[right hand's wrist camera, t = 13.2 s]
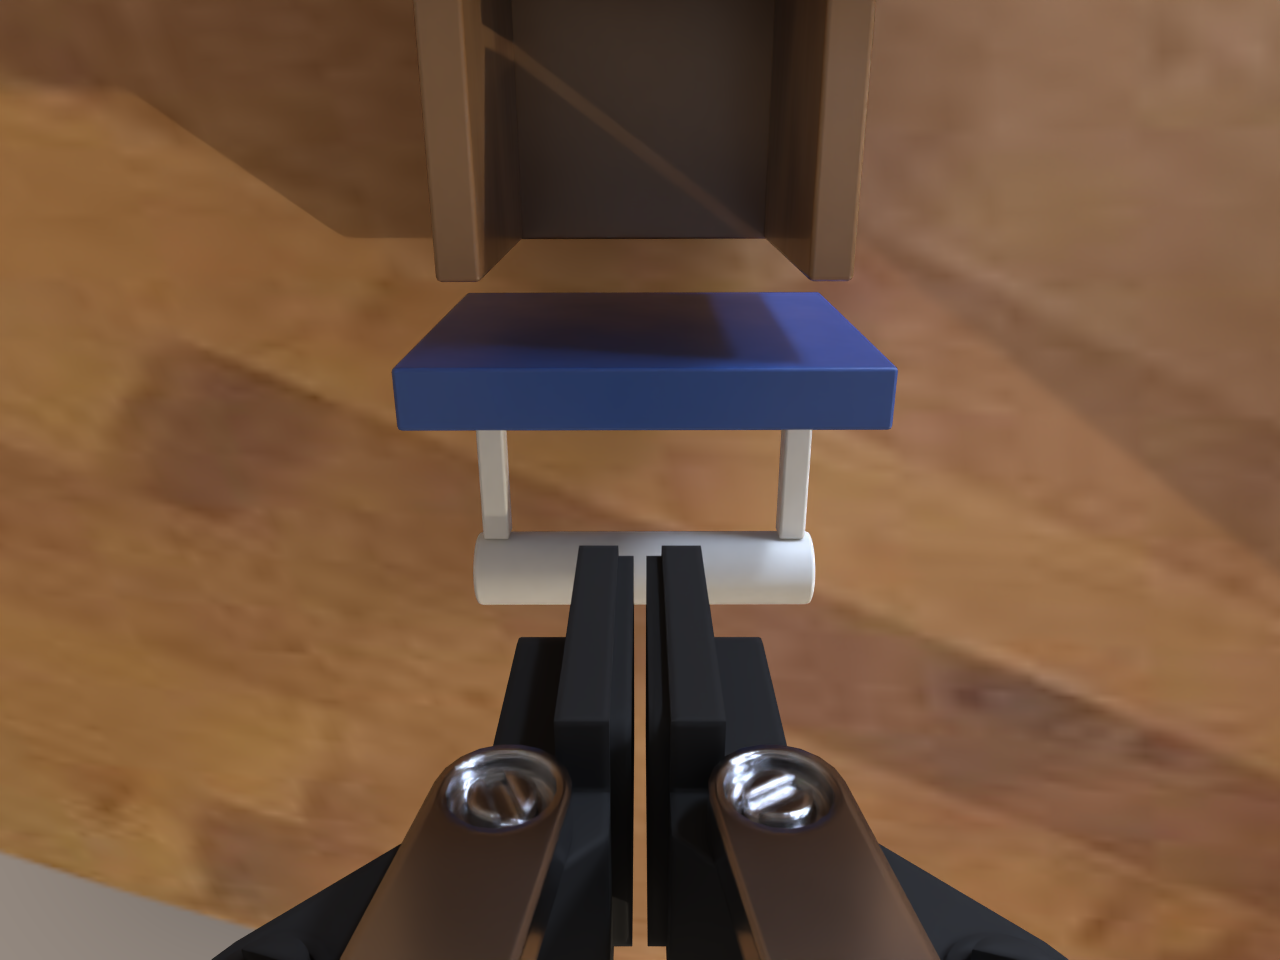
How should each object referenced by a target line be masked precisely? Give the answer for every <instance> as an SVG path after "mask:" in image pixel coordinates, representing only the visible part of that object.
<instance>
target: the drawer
mask: <svg viewBox="0 0 1280 960" xmlns="http://www.w3.org/2000/svg"><path fill="white" fill-rule="evenodd" d="M413 7H414V19H415V31H416V43H417V55H418V67H419V79H420V91H421V103H422V115H423V127H424V139H425V151H426V163H427V175H428V187H429V199H430V211H431V223H432V235H433V247H434V259H435V271H436V278H437V280H438V281H441V282H477V281H479V280H481V279H482V278H483V277H484V276H485V275H486V274H487V273H488V272H489V271H490V270H491V269H492V268H493V267H494V266H495V265H496V264H497V263H498V262H499V261H500V260H501V259H502V258H503V257H504V256H505V255H506V254H507V253H508V252H509V251H510V250H511V249H512V248H513V247H514V246H515V245H516V244H517V243H518V242H519V241H520V240H521V239H767V240H768V241H769V242H770V243H771V244H772V245H773V246H774V247H776V248H777V249H778V250H779V251H780V252H781V253H782V254H783V255H784V256H785V257H786V258H787V259H788V260H789V261H790V262H791V263H793V264H794V265H795V266H796V267H797V268H798V269H799V270H800V271H801V272H802V273H803V274H804V275H805V276H806V277H807V278H808V279H810V280H812V281H848V280H851V279H852V277H853V272H854V260H855V248H856V236H857V224H858V212H859V200H860V187H861V175H862V163H863V151H864V139H865V127H866V115H867V103H868V91H869V79H870V67H871V55H872V43H873V31H874V19H875V7H876V0H413ZM897 374H898V370H897V367H895V366H894V365H893V364H892V363H891V362H890V361H889V360H888V359H887V358H886V357H885V356H884V355H883V354H882V353H881V352H880V351H879V350H878V349H877V348H876V347H875V346H874V345H873V344H872V343H871V342H870V341H869V340H867V339H866V338H865V337H864V336H863V335H862V334H861V333H860V332H859V331H858V330H857V329H856V328H855V327H854V326H853V325H852V324H851V323H850V322H849V321H848V320H847V319H846V318H845V317H844V316H843V315H842V314H841V313H839V312H838V311H837V310H836V309H835V308H834V307H833V306H832V305H831V304H830V303H829V302H828V301H827V300H826V299H825V298H824V297H823V296H822V295H821V294H820V293H818V292H724V293H468V294H467V295H466V296H465V297H464V298H463V299H462V300H461V301H460V302H459V303H458V304H457V305H456V306H455V307H454V308H453V309H452V310H451V311H450V312H449V313H448V314H447V315H446V316H445V317H444V318H443V319H442V320H441V321H440V322H439V323H438V324H437V325H436V326H435V327H434V328H433V329H432V330H431V331H430V332H429V333H428V334H427V335H426V336H425V337H424V338H423V339H422V340H421V341H420V342H419V343H418V344H417V345H416V346H415V347H414V348H413V349H412V350H411V351H410V352H409V353H408V354H407V355H406V356H405V357H404V358H403V359H402V360H401V361H400V362H399V363H398V364H397V365H396V366H395V367H394V368H393V369H392V380H393V390H394V399H395V409H396V418H397V427H398V429H399V430H402V431H438V430H476V438H477V451H478V465H479V479H480V493H481V507H482V521H483V532H481V533H480V534H479V535H478V538H477V541H476V545H475V551H474V563H473V578H474V590H475V595H476V598H477V601H478V603H480V604H482V605H571V598H572V591H573V584H574V577H575V570H576V563H577V556H578V549H579V545H618V548H619V556H634V604H646V556H661V548H662V545H701V549H702V556H703V563H704V570H705V577H706V584H707V591H708V598H709V604H807V603H810V601H811V599H812V596H813V592H814V585H815V556H814V548H813V543H812V539H811V537H810V534H809V533H808V532H806V531H805V524H806V510H807V496H808V481H809V467H810V453H811V439H812V430H888V429H891V427H892V422H893V412H894V403H895V393H896V383H897ZM506 430H782V431H781V448H780V466H779V483H778V500H777V517H776V529H777V531H551V532H511V530H512V517H511V500H510V483H509V466H508V449H507V432H506Z"/></svg>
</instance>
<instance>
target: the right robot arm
mask: <svg viewBox="0 0 1280 960" xmlns="http://www.w3.org/2000/svg"><path fill="white" fill-rule="evenodd" d="M633 815H634V556H619V548H618V545H579V549H578V556H577V563H576V570H575V577H574V584H573V591H572V598H571V605H570V612H569V619H568V626H567V633H566V637H521V638H519V640H518V643H517V646H516V651H515V655H514V659H513V663H512V668H511V672H510V676H509V680H508V685H507V689H506V693H505V697H504V702H503V706H502V710H501V714H500V719H499V723H498V727H497V731H496V736H495V740H494V744H493V746H491V747H486V748H481V749H478V750H476V751H473V752H471V753H469V754H466V755H464V756H462V757H460V758H458V759H457V760H456V761H454V762H453V763H452V764H450V765H449V766H447V767H446V768H445V769H444V770H443V772H442V773H441V774H440V775H439V777H438V778H437V779H436V781H435V782H434V784H433V786H432V788H431V789H430V791H429V793H428V795H427V797H426V799H425V801H424V803H423V804H422V806H421V808H420V810H419V812H418V814H417V816H416V818H415V819H414V821H413V823H412V825H411V827H410V829H409V831H408V833H407V834H406V836H405V838H404V840H403V842H402V843H401V844H400V845H398V846H396V847H395V848H393V849H391V850H390V851H388V852H386V853H385V854H383V855H381V856H380V857H378V858H376V859H375V860H373V861H371V862H369V863H368V864H366V865H364V866H363V867H361V868H359V869H358V870H356V871H354V872H353V873H351V874H349V875H348V876H346V877H344V878H342V879H341V880H339V881H337V882H336V883H334V884H332V885H331V886H329V887H327V888H326V889H324V890H322V891H321V892H319V893H317V894H316V895H314V896H312V897H310V898H309V899H307V900H305V901H304V902H302V903H300V904H299V905H297V906H295V907H294V908H292V909H290V910H289V911H287V912H285V913H283V914H282V915H280V916H278V917H277V918H275V919H273V920H272V921H270V922H268V923H267V924H265V925H263V926H262V927H260V928H258V929H257V930H255V931H253V932H251V933H250V934H248V935H246V936H245V937H243V938H241V939H240V940H238V941H236V942H235V943H233V944H232V945H231V946H229V947H228V948H227V949H225V950H224V951H223V952H221V953H220V954H218V955H217V956H216V957H214V958H213V959H212V960H613V956H614V946H632V921H633ZM646 815H647V921H648V946H666V956H667V960H1068V959H1067V958H1066V957H1064V956H1063V955H1062V954H1060V953H1059V952H1057V951H1056V950H1055V949H1053V948H1052V947H1051V946H1049V945H1048V944H1047V943H1045V942H1044V941H1042V940H1040V939H1039V938H1037V937H1035V936H1034V935H1032V934H1030V933H1029V932H1027V931H1025V930H1023V929H1022V928H1020V927H1018V926H1017V925H1015V924H1013V923H1012V922H1010V921H1008V920H1007V919H1005V918H1003V917H1002V916H1000V915H998V914H997V913H995V912H993V911H991V910H990V909H988V908H986V907H985V906H983V905H981V904H980V903H978V902H976V901H975V900H973V899H971V898H970V897H968V896H966V895H964V894H963V893H961V892H959V891H958V890H956V889H954V888H953V887H951V886H949V885H948V884H946V883H944V882H943V881H941V880H939V879H938V878H936V877H934V876H932V875H931V874H929V873H927V872H926V871H924V870H922V869H921V868H919V867H917V866H916V865H914V864H912V863H911V862H909V861H907V860H905V859H904V858H902V857H900V856H899V855H897V854H895V853H894V852H892V851H890V850H889V849H887V848H885V847H884V846H882V845H880V844H879V843H878V842H877V840H876V838H875V836H874V834H873V833H872V831H871V829H870V827H869V825H868V823H867V821H866V819H865V818H864V816H863V814H862V812H861V810H860V808H859V806H858V804H857V803H856V801H855V799H854V797H853V795H852V793H851V791H850V789H849V788H848V786H847V784H846V782H845V781H844V779H843V778H842V777H841V775H840V774H839V773H838V772H837V770H836V769H835V768H834V767H833V766H831V765H830V764H828V763H827V762H826V761H824V760H823V759H822V758H820V757H818V756H816V755H814V754H811V753H809V752H807V751H804V750H802V749H799V748H794V747H789V746H787V744H786V740H785V736H784V731H783V727H782V723H781V719H780V714H779V710H778V706H777V702H776V697H775V693H774V689H773V685H772V680H771V676H770V672H769V668H768V663H767V659H766V655H765V651H764V646H763V643H762V640H761V638H759V637H714V633H713V626H712V619H711V612H710V605H709V598H708V591H707V584H706V577H705V570H704V563H703V556H702V549H701V545H662V548H661V556H646Z"/></svg>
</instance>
